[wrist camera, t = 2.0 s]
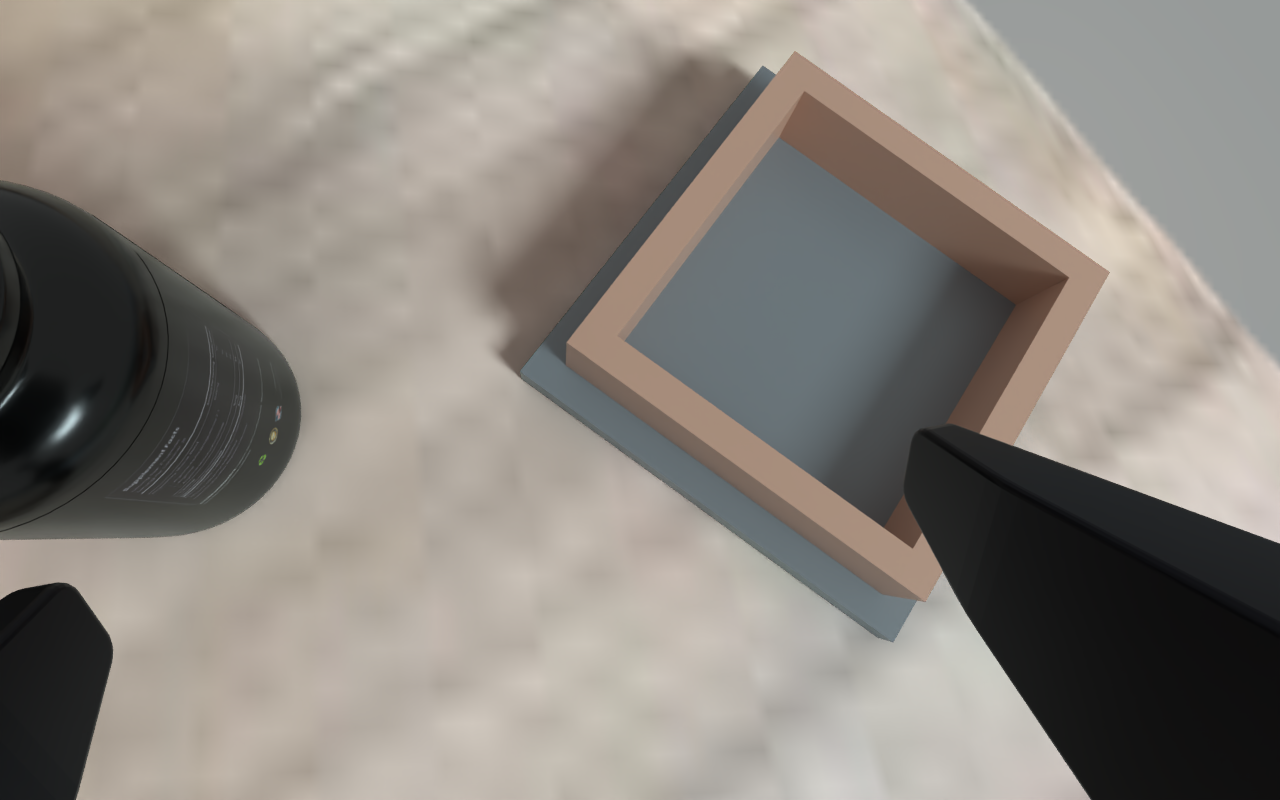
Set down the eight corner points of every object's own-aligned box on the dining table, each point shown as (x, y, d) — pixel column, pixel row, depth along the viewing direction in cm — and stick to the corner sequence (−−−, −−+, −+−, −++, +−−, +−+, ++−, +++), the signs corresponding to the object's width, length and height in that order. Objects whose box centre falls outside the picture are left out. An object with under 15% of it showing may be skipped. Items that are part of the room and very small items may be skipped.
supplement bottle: (28, 515, 19) (-785, 476, 8) (113, 294, 21) (-455, -19, 9) (272, 560, 20) (-139, 590, 8) (338, 341, 21) (71, 102, 10)
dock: (878, 637, 21) (938, 656, 18) (521, 378, 22) (514, 349, 18) (1067, 304, 25) (1149, 267, 21) (754, 84, 25) (785, 11, 22)
